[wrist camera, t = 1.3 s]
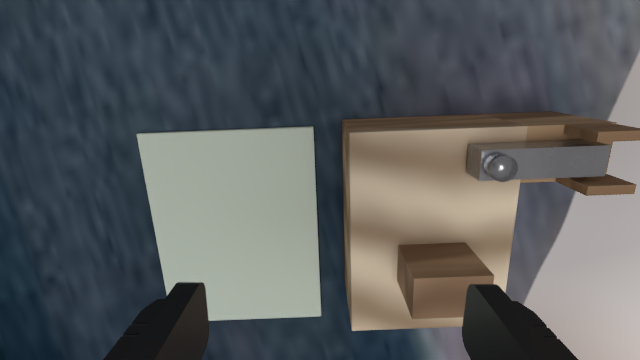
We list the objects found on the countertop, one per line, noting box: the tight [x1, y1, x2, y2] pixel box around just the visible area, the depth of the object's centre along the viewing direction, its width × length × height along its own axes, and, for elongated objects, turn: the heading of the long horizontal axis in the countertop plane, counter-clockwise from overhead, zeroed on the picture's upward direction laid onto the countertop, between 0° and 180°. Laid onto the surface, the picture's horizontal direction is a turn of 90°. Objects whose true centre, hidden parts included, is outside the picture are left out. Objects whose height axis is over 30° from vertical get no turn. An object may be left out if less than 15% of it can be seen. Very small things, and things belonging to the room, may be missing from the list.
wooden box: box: [342, 111, 640, 320], centre depth 28 cm, size 16×18×10 cm
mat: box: [137, 126, 321, 321], centre depth 33 cm, size 19×15×1 cm
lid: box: [348, 124, 528, 331], centre depth 25 cm, size 16×12×6 cm
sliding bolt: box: [466, 139, 611, 182], centre depth 23 cm, size 2×8×3 cm, turn 92°
